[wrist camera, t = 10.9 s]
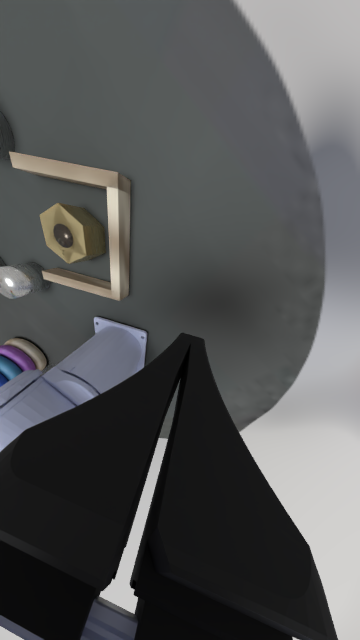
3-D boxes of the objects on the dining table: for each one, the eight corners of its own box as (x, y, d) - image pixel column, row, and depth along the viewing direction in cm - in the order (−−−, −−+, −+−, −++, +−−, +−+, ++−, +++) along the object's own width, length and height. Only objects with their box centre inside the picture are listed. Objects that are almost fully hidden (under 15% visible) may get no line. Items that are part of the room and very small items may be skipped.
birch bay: (128, 295, 19) (119, 300, 17) (58, 275, 20) (43, 279, 19) (130, 180, 14) (117, 172, 12) (33, 161, 15) (8, 151, 13)
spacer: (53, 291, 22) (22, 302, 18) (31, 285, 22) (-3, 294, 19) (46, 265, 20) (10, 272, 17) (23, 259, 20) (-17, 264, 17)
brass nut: (106, 264, 18) (87, 269, 15) (73, 255, 18) (49, 258, 16) (103, 212, 15) (79, 207, 13) (65, 203, 16) (34, 197, 13)
